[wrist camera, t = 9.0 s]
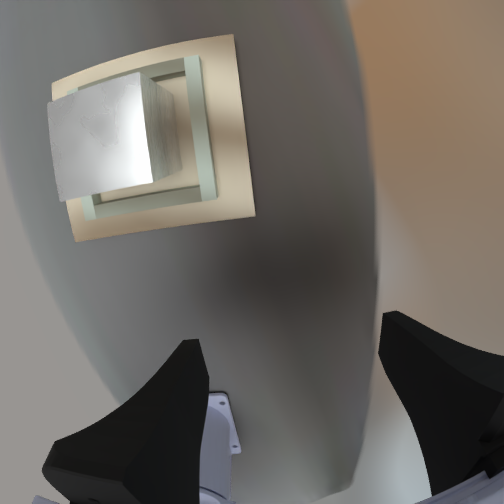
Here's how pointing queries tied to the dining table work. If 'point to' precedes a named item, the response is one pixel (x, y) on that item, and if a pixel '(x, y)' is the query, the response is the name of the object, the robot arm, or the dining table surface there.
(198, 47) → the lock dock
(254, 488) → the dining table surface
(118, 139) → the block
